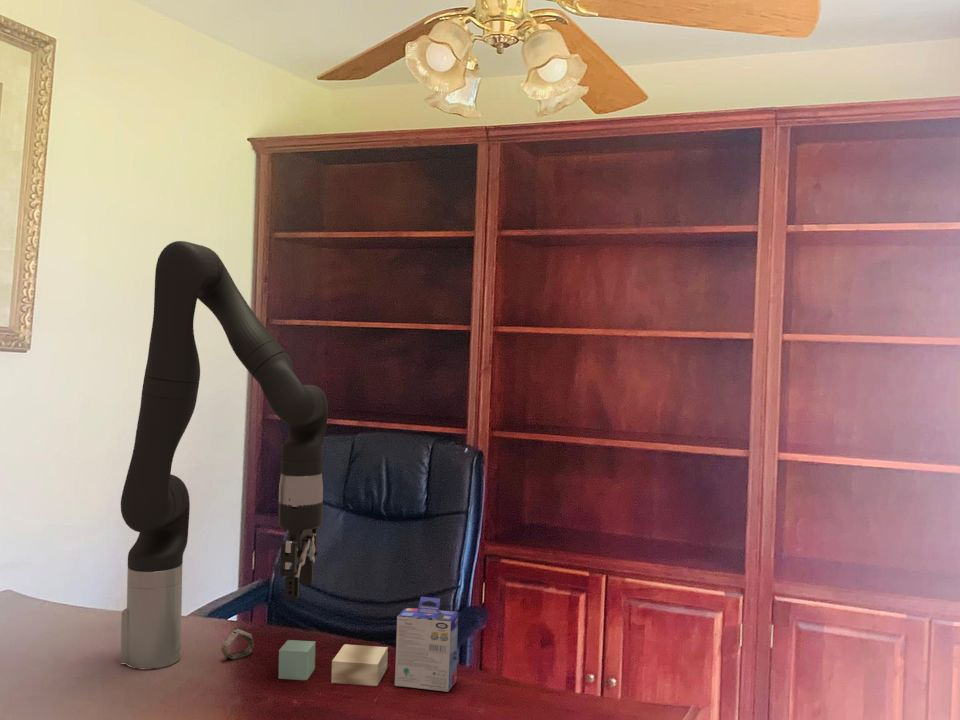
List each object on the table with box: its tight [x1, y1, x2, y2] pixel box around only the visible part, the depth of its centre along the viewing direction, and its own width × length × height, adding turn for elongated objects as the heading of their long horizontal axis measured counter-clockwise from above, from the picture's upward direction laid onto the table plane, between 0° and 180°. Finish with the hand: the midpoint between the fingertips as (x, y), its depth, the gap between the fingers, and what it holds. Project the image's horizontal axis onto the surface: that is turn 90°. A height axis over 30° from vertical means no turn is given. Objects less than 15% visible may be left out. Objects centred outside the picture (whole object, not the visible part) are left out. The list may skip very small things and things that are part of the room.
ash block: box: [330, 643, 389, 687], centre depth 144 cm, size 8×8×4 cm
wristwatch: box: [221, 628, 255, 660], centre depth 151 cm, size 4×6×5 cm, turn 144°
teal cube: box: [278, 639, 317, 681], centre depth 144 cm, size 5×5×5 cm
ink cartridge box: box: [394, 596, 459, 693], centre depth 141 cm, size 10×6×14 cm, turn 78°
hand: (299, 591), depth 144 cm, fingers open, 8 cm apart
